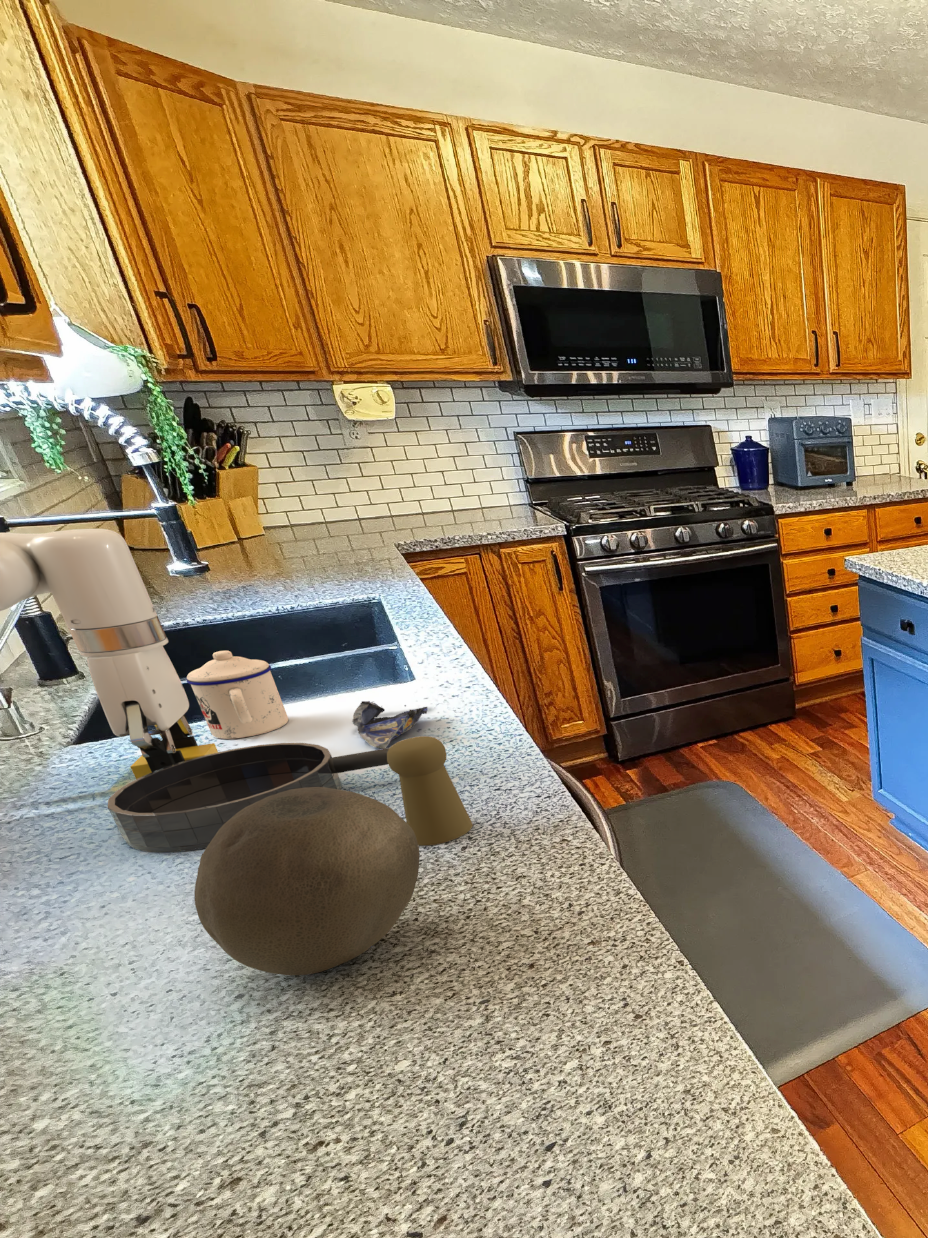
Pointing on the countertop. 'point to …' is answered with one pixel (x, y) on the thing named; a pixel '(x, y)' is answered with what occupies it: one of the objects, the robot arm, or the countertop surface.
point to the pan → (212, 793)
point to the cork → (428, 791)
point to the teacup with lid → (237, 696)
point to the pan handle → (358, 761)
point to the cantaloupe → (306, 879)
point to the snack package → (383, 723)
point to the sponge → (188, 753)
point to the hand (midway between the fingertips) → (181, 773)
